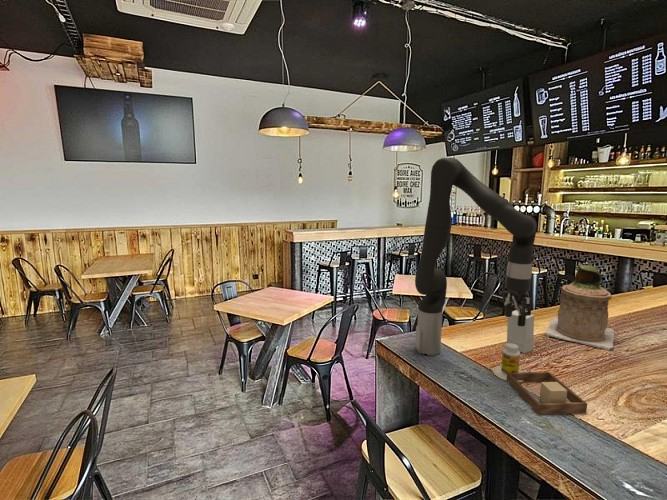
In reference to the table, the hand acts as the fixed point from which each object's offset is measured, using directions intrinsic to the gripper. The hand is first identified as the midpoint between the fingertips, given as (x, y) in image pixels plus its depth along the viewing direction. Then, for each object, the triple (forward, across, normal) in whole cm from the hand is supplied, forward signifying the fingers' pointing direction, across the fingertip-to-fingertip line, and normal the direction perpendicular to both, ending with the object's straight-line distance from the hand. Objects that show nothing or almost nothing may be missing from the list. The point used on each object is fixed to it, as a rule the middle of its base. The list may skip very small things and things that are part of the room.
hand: (514, 321), depth 129 cm
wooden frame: (+20, -14, -4) cm, 24 cm away
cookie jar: (+20, +32, -48) cm, 61 cm away
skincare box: (+20, +20, -14) cm, 31 cm away
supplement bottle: (+19, 0, 0) cm, 19 cm away
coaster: (+20, 0, 0) cm, 20 cm away
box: (+20, -18, -4) cm, 27 cm away
